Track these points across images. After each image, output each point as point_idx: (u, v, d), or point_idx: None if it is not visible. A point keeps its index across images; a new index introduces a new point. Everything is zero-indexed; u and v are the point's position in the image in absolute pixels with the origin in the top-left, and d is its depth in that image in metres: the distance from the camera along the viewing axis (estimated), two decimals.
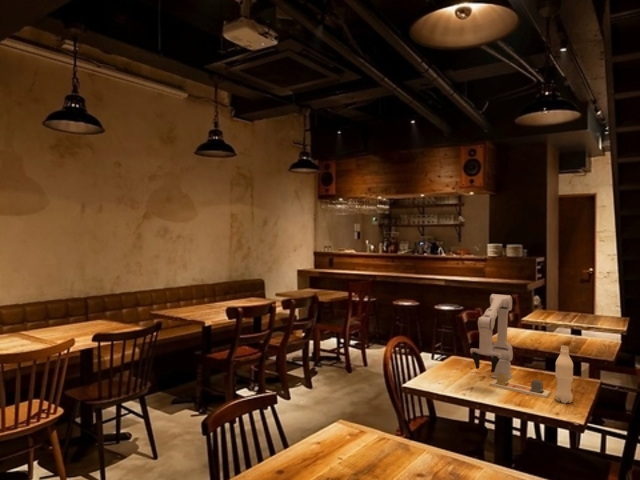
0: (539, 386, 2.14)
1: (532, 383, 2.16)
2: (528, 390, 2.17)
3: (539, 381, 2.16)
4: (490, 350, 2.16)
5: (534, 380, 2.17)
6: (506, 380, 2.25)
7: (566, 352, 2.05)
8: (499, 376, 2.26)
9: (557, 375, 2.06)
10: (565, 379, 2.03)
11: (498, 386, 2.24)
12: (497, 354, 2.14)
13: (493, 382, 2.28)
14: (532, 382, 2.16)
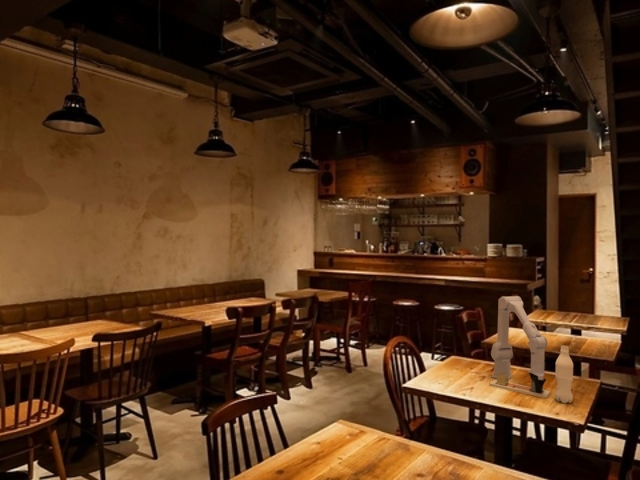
0: None
1: (532, 383, 2.16)
2: (528, 390, 2.17)
3: None
4: (536, 370, 2.14)
5: None
6: (506, 380, 2.25)
7: (566, 352, 2.05)
8: (499, 376, 2.26)
9: (557, 375, 2.06)
10: (565, 379, 2.03)
11: (498, 386, 2.24)
12: (537, 375, 2.11)
13: (493, 382, 2.28)
14: (532, 382, 2.16)
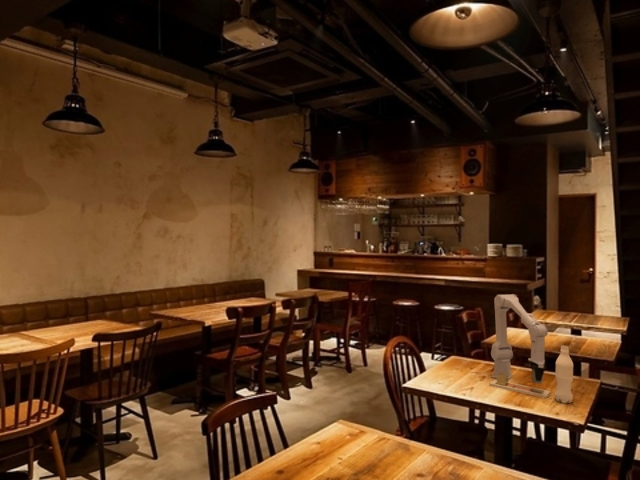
0: None
1: (532, 371, 2.16)
2: (528, 390, 2.17)
3: None
4: (537, 358, 2.14)
5: None
6: (506, 380, 2.25)
7: (566, 352, 2.05)
8: (499, 376, 2.26)
9: (557, 375, 2.06)
10: (565, 379, 2.03)
11: (498, 386, 2.24)
12: (538, 363, 2.11)
13: (493, 382, 2.28)
14: (532, 370, 2.16)
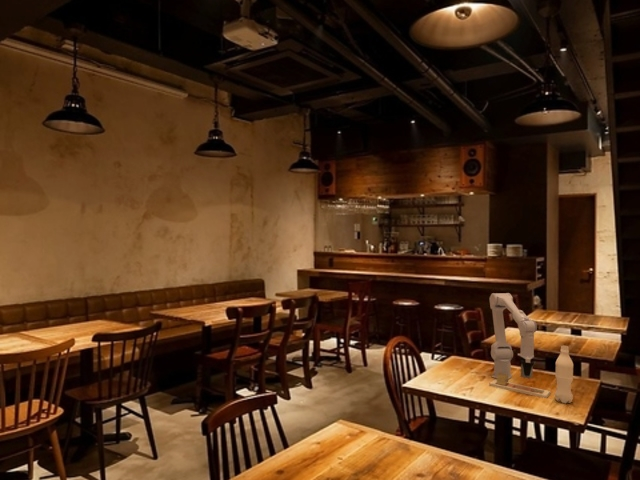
0: None
1: (521, 366, 2.19)
2: (528, 390, 2.17)
3: None
4: (525, 354, 2.17)
5: None
6: (506, 380, 2.25)
7: (566, 352, 2.05)
8: (499, 376, 2.26)
9: (557, 375, 2.06)
10: (565, 379, 2.03)
11: (498, 386, 2.24)
12: (525, 358, 2.14)
13: (493, 382, 2.28)
14: (521, 365, 2.19)
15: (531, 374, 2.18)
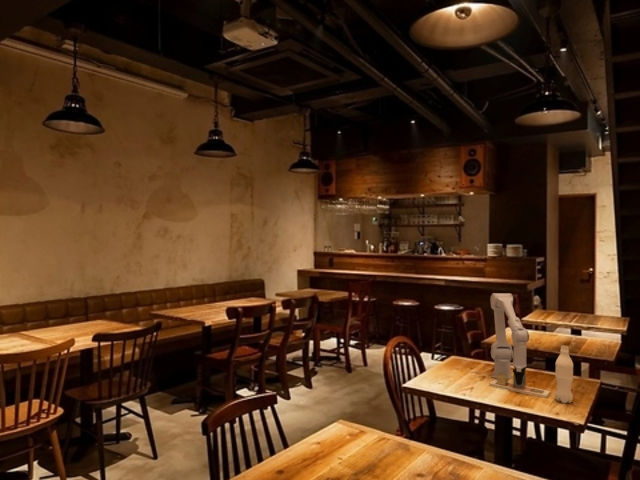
0: None
1: (514, 375, 2.21)
2: (528, 390, 2.17)
3: None
4: (517, 363, 2.19)
5: None
6: (506, 380, 2.25)
7: (566, 352, 2.05)
8: (499, 376, 2.26)
9: (557, 375, 2.06)
10: (565, 379, 2.03)
11: (498, 386, 2.24)
12: (516, 367, 2.16)
13: (493, 382, 2.28)
14: None
15: (524, 383, 2.20)
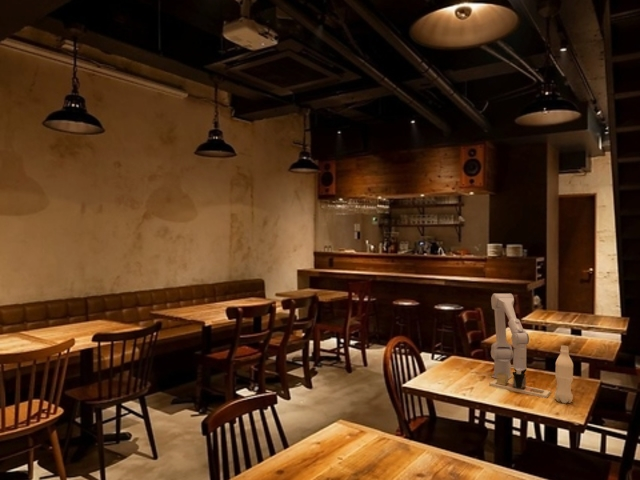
0: None
1: (514, 378, 2.21)
2: (528, 390, 2.17)
3: None
4: (517, 365, 2.19)
5: None
6: (506, 380, 2.25)
7: (566, 352, 2.05)
8: (499, 376, 2.26)
9: (557, 375, 2.06)
10: (565, 379, 2.03)
11: (498, 386, 2.24)
12: (516, 369, 2.16)
13: (493, 382, 2.28)
14: None
15: (524, 387, 2.20)
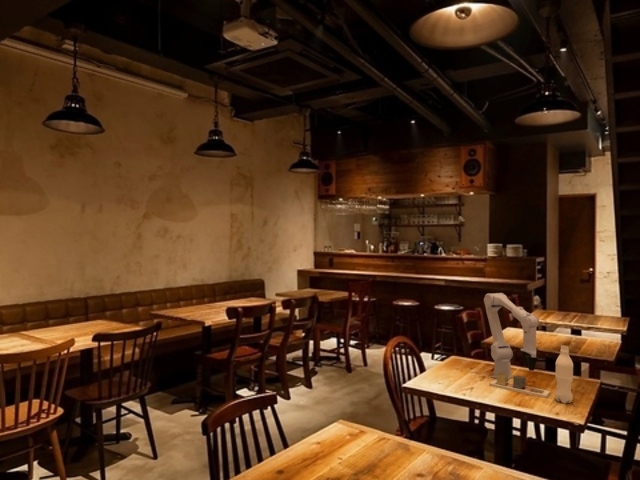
0: (520, 382, 2.19)
1: (514, 378, 2.21)
2: (528, 390, 2.17)
3: (521, 377, 2.21)
4: (529, 348, 2.21)
5: (517, 376, 2.22)
6: (506, 380, 2.25)
7: (566, 352, 2.05)
8: (499, 376, 2.26)
9: (557, 375, 2.06)
10: (565, 379, 2.03)
11: (498, 386, 2.24)
12: (530, 353, 2.17)
13: (493, 382, 2.28)
14: (514, 377, 2.22)
15: (524, 387, 2.20)
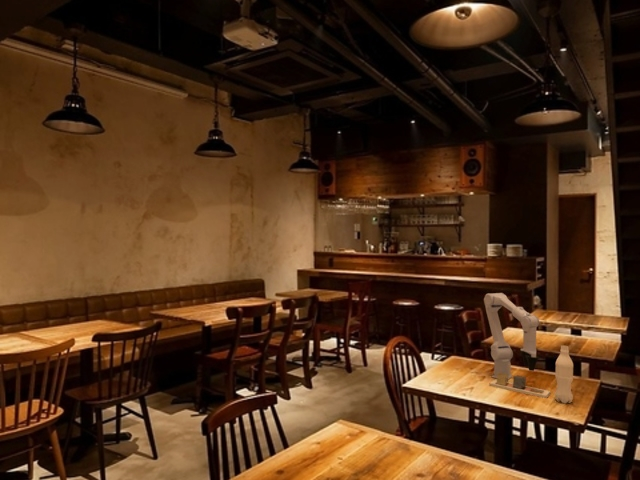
0: (520, 382, 2.19)
1: (514, 378, 2.21)
2: (528, 390, 2.17)
3: (521, 377, 2.21)
4: (529, 348, 2.21)
5: (517, 376, 2.22)
6: (506, 380, 2.25)
7: (566, 352, 2.05)
8: (499, 376, 2.26)
9: (557, 375, 2.06)
10: (565, 379, 2.03)
11: (498, 386, 2.24)
12: (530, 353, 2.17)
13: (493, 382, 2.28)
14: (514, 377, 2.22)
15: (524, 387, 2.20)
